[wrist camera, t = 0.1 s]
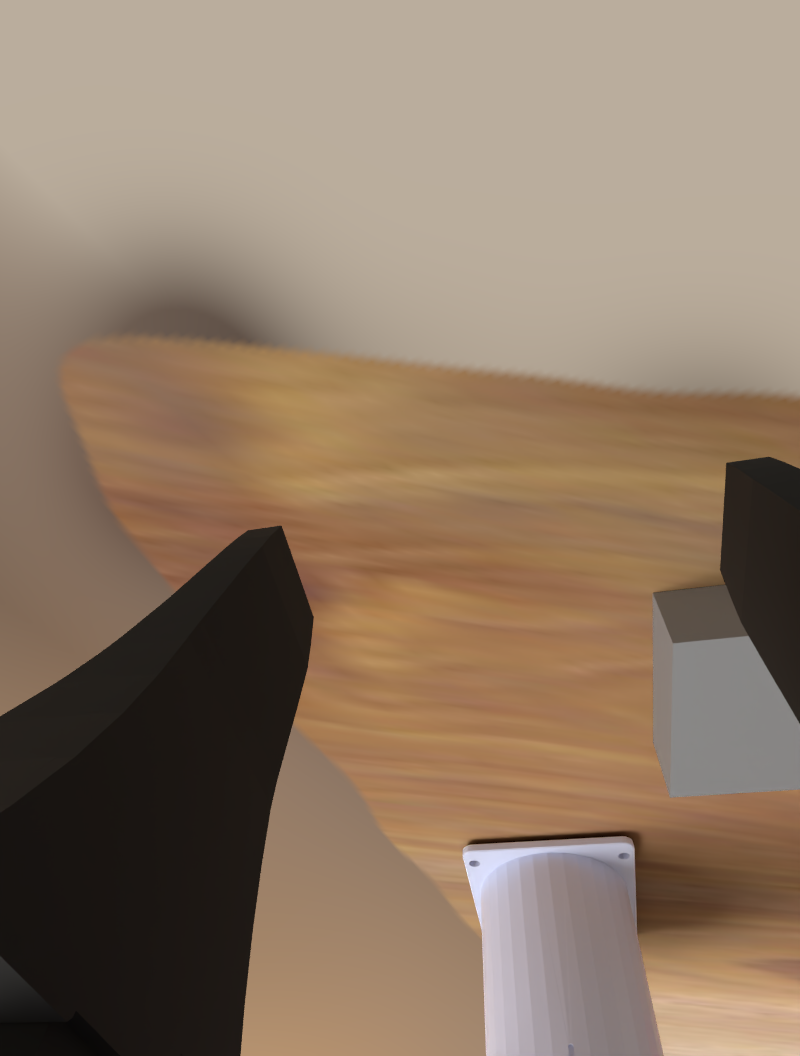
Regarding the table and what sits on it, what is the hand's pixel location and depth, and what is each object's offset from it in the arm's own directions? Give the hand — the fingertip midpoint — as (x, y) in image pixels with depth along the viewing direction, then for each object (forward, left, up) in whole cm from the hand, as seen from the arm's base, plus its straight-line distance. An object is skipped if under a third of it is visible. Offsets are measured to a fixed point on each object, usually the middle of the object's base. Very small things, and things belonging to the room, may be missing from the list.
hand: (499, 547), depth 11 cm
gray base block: (-14, -9, -10) cm, 19 cm away
